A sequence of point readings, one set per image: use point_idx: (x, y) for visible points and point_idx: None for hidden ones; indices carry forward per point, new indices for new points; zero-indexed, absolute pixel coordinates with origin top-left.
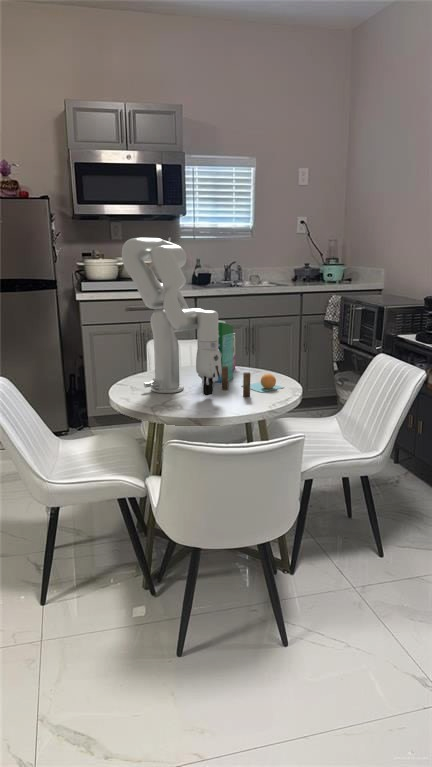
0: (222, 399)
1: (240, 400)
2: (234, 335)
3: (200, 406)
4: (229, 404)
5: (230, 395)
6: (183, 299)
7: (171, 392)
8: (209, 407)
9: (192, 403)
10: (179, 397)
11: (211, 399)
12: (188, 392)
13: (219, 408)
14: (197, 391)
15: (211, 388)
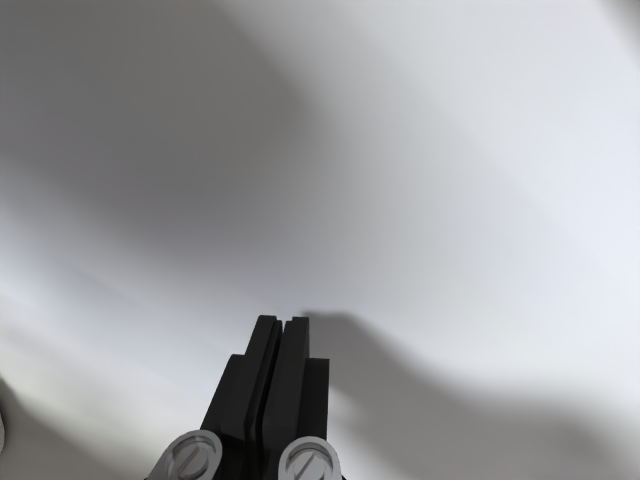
0: (414, 244)
1: (619, 106)
2: None
3: (433, 468)
4: (597, 303)
5: (348, 46)
6: None
7: (1, 432)
8: (504, 447)
9: None
10: (140, 441)
11: (338, 319)
12: (16, 327)
13: (590, 420)
14: (3, 249)
15: (326, 407)
